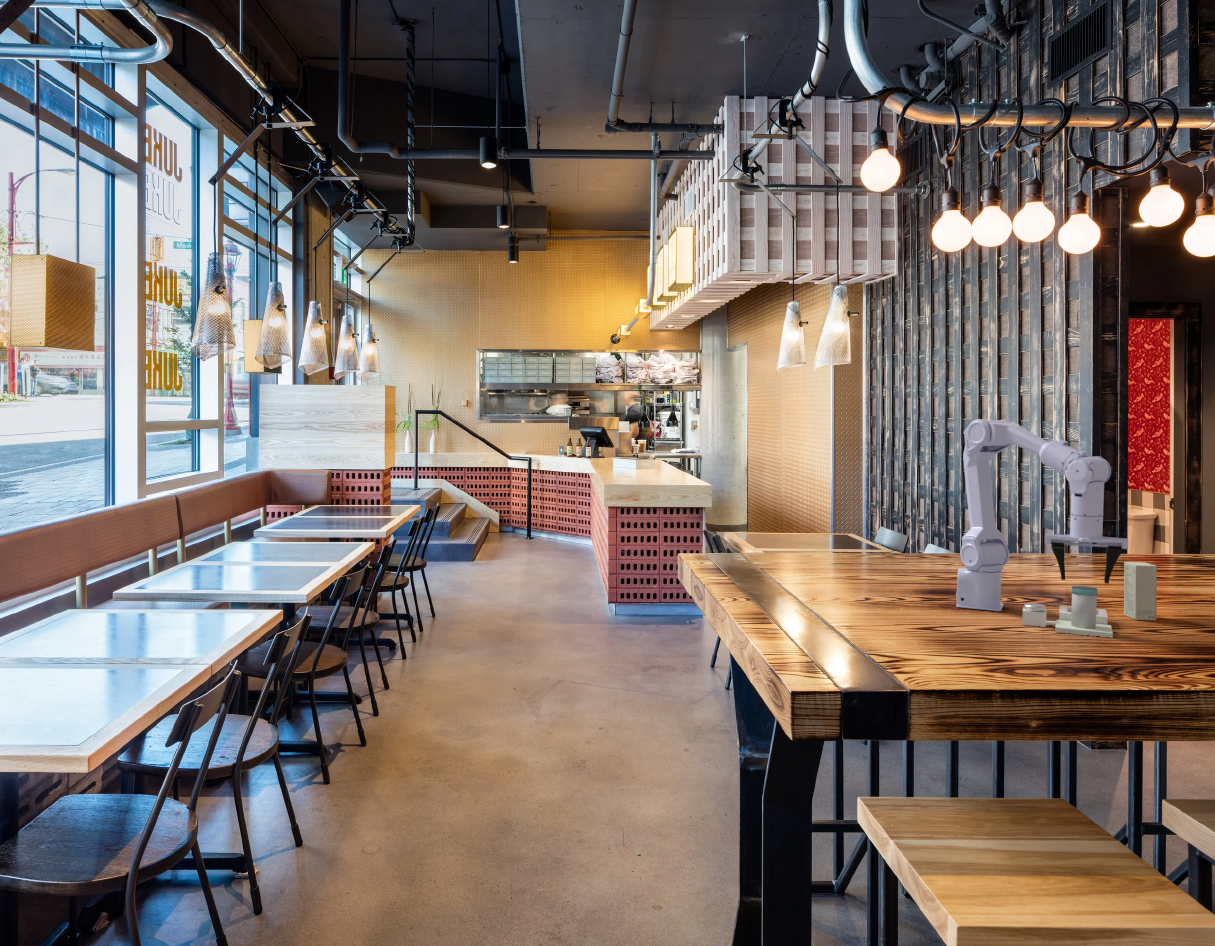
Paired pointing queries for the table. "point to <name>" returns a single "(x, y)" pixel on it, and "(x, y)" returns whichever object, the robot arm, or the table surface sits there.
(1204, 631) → the table surface
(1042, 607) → the plunger
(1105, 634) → the pad
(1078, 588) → the cartridge
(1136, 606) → the skincare box
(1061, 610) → the holder
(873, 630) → the table surface
